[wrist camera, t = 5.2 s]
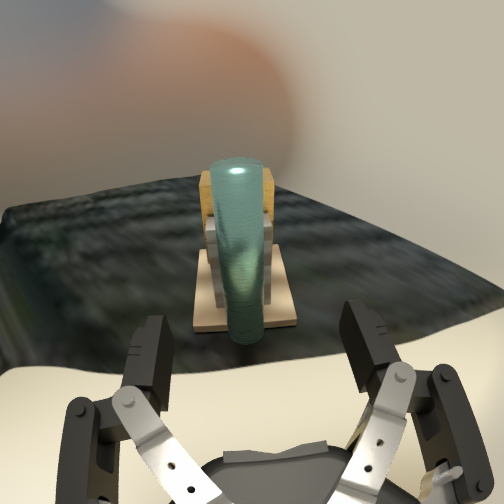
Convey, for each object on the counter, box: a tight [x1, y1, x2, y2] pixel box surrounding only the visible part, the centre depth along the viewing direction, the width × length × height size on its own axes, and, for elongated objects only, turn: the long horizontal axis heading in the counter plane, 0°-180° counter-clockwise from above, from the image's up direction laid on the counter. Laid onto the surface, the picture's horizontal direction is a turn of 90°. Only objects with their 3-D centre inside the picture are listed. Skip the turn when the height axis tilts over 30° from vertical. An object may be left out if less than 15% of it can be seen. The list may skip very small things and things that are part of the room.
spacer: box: [199, 168, 274, 264], centre depth 31 cm, size 4×7×9 cm, turn 94°
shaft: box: [209, 157, 264, 345], centre depth 27 cm, size 18×3×15 cm, turn 4°
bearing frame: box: [193, 213, 297, 332], centre depth 34 cm, size 14×11×11 cm
